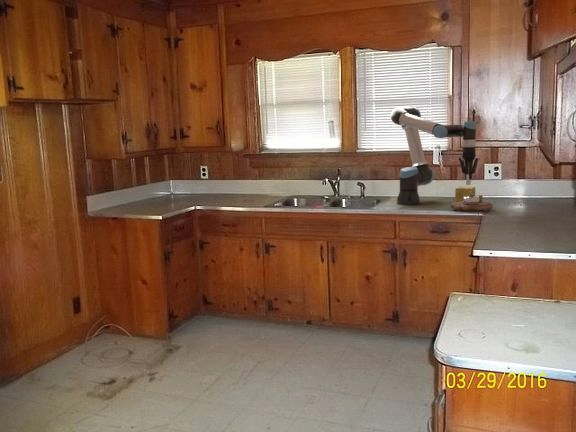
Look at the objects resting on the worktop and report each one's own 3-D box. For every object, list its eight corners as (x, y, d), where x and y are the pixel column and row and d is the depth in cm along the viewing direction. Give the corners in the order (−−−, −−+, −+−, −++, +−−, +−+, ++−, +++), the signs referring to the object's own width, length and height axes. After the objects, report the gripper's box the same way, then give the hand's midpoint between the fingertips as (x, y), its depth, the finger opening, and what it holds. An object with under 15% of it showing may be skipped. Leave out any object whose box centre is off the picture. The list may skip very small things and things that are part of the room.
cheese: (470, 204, 353) (471, 188, 351) (454, 203, 359) (454, 188, 357) (475, 201, 362) (475, 186, 360) (458, 201, 368) (459, 186, 366)
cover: (460, 204, 332) (460, 194, 331) (468, 202, 338) (468, 192, 337) (474, 206, 325) (474, 195, 324) (481, 204, 331) (482, 194, 330)
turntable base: (455, 210, 332) (455, 207, 332) (466, 207, 342) (466, 204, 341) (476, 212, 322) (477, 209, 322) (487, 209, 332) (488, 206, 331)
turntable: (443, 207, 332) (443, 198, 331) (463, 202, 348) (463, 193, 347) (481, 211, 315) (481, 202, 314) (499, 205, 332) (500, 196, 331)
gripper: (456, 146, 340) (455, 184, 344) (476, 147, 331) (475, 186, 335) (462, 146, 345) (461, 183, 349) (482, 146, 336) (481, 184, 340)
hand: (468, 184), depth 342 cm, fingers closed
